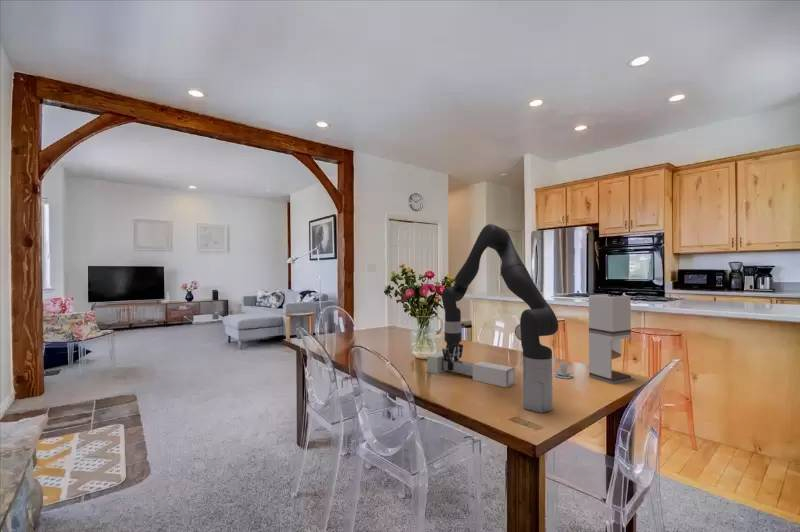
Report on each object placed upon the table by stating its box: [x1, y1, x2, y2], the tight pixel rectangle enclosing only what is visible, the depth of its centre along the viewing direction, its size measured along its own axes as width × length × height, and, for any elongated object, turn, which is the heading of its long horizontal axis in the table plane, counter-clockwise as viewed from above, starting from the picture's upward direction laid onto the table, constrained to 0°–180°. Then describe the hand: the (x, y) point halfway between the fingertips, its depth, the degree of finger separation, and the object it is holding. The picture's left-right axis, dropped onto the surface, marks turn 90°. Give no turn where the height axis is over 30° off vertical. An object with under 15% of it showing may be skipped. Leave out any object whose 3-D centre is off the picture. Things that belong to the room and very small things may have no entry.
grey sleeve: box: [472, 360, 515, 389], centre depth 150 cm, size 6×16×7 cm, turn 49°
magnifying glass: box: [514, 323, 521, 341], centre depth 175 cm, size 9×2×20 cm, turn 57°
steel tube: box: [442, 358, 475, 376], centre depth 160 cm, size 4×26×4 cm, turn 49°
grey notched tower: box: [588, 293, 632, 385], centre depth 153 cm, size 11×11×35 cm
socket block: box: [426, 351, 452, 375], centre depth 168 cm, size 12×6×7 cm, turn 139°
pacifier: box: [554, 361, 574, 380], centre depth 157 cm, size 7×6×6 cm
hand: (453, 369), depth 163 cm, fingers closed on steel tube, 4 cm apart
